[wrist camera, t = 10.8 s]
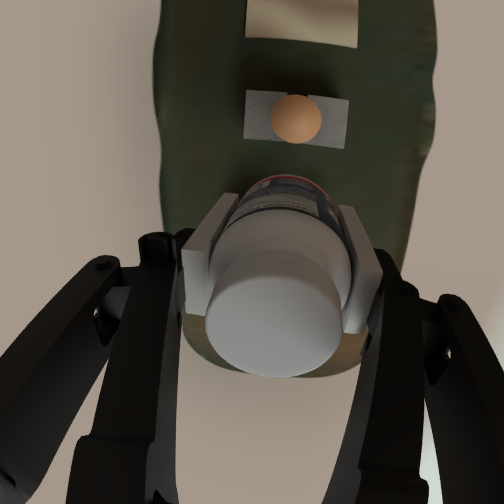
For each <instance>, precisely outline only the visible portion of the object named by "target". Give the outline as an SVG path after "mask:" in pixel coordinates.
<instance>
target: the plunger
mask: <svg viewBox="0 0 504 504" xmlns="http://www.w3.org/2000/svg"><path fill="white" fill-rule="evenodd" d="M270 120H271V125H272V128H273V130H274V132H275V133H276V134H277V135H278V136H279V137H280V138H281V139H283V140H285V141H287V142H290V143H304V142H307V141H309V140H310V139H312V138H313V137H314V136H315V135H316V134H317V133H318V131H319V129H320V126H321V113H320V110H319V108H318V107H317V105H316V104H315V103H314V102H313V101H312V100H311V99H309V98H307V97H305V96H302V95H288V96H285V97H283V98H281V99H280V100H279V101H278V102H277V103H276V104H275V105H274V107H273V109H272V111H271V116H270Z"/></svg>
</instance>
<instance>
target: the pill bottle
mask: <svg viewBox="0 0 504 504" xmlns="http://www.w3.org/2000/svg"><path fill="white" fill-rule="evenodd" d="M209 282H210V287H211V291H212V296H211V298H210V301H209V304H208V307H207V310H206V315H205V329H206V333H207V336H208V339H209V341H210V343H211V345H212V346H213V348H214V349H215V351H216V352H217V353H218V354H219V355H220V356H221V357H222V358H223V359H225V360H226V361H227V362H228V363H230V364H231V365H233V366H235V367H237V368H238V369H240V370H242V371H245V372H248V373H251V374H254V375H258V376H263V377H273V378H278V377H280V378H283V377H292V376H296V375H300V374H304V373H307V372H309V371H312V370H314V369H316V368H317V367H319V366H321V365H322V364H323V363H324V362H326V361H327V360H328V359H329V358H330V357H331V356H332V355H333V353H334V352H335V351H336V349H337V347H338V345H339V343H340V340H341V337H342V329H343V322H342V311H341V310H342V309H343V307H344V305H345V303H346V301H347V299H348V296H349V292H350V288H351V264H350V260H349V255H348V252H347V248H346V245H345V241H344V238H343V235H342V232H341V229H340V225H339V222H338V219H337V216H336V212H335V209H334V207H333V205H332V202H331V200H330V199H329V197H328V196H327V194H326V193H325V192H324V191H323V190H322V189H321V188H320V187H319V186H318V185H316V184H315V183H314V182H312V181H310V180H308V179H306V178H303V177H300V176H296V175H289V174H281V175H274V176H270V177H268V178H265V179H263V180H261V181H259V182H257V183H256V184H255V185H253V186H252V187H251V188H250V189H249V190H248V191H247V192H246V194H245V195H244V196H243V198H242V199H241V201H240V203H239V204H238V206H237V208H236V209H235V211H234V213H233V215H232V216H231V218H230V220H229V222H228V223H227V225H226V227H225V229H224V230H223V232H222V234H221V236H220V237H219V239H218V241H217V243H216V245H215V248H214V250H213V253H212V256H211V259H210V265H209Z"/></svg>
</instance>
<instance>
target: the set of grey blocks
mask: <svg viewBox="0 0 504 504" xmlns="http://www.w3.org/2000/svg"><path fill="white" fill-rule="evenodd" d="M285 96H288V93H285V92H273V91H256V90H246V103H245V121H244V138H245V139H260V140H272V141H283V142H284V140H283V139H281V138H280V137H279V136H278V135H277V134H276V133H275V132H274V130H273V128H272V125H271V120H270V116H271V111H272V109H273V107H274V105H275V104H276V103H277V102H278V101H279V100H280V99H281V98H283V97H285ZM307 98H309V99H311V100H312V101H313V102H314V103H315V104H316V105H317V107H318V108H319V110H320V113H321V126H320V129H319V131H318V133H317V134H316V135H315V136H314V137H313V138H312V139H310V140H309V141H307V142H304V144H311V145H319V146H326V147H333V148H340V149H344V144H345V135H346V126H347V116H348V105H349V100H343V99H336V98H329V97H322V96H314V95H308V96H307Z"/></svg>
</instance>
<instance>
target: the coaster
mask: <svg viewBox="0 0 504 504" xmlns="http://www.w3.org/2000/svg"><path fill="white" fill-rule="evenodd" d="M357 36H358V0H248V2H247V15H246V30H245V37H246V38H274V39H289V40H301V41H310V42H319V43H326V44H333V45H340V46H346V47H352V48H357Z"/></svg>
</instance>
